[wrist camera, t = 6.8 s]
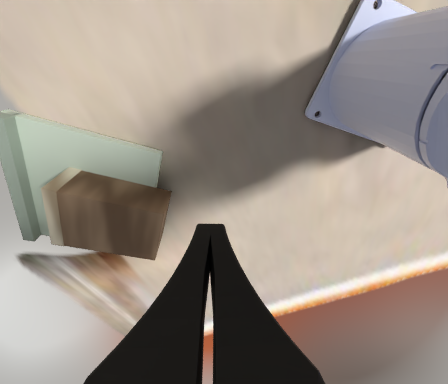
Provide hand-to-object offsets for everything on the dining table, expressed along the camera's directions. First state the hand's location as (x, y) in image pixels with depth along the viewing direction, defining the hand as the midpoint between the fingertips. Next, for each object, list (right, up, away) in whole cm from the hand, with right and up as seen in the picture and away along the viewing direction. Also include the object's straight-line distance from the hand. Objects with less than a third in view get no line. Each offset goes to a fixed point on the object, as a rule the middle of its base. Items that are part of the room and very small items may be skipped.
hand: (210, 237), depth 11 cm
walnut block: (-5, -1, +9) cm, 11 cm away
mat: (-12, +2, +10) cm, 16 cm away
